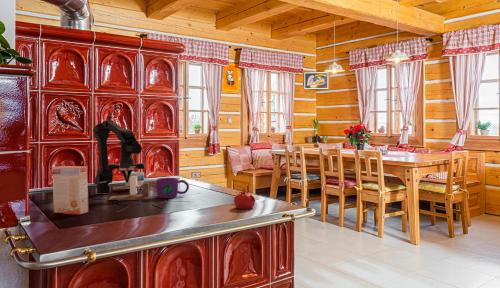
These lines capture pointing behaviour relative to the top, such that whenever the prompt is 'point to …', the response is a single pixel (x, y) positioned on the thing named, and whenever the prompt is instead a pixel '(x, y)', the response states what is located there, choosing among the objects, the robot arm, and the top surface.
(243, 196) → the pomegranate
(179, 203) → the top surface
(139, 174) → the light bulb box
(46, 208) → the top surface
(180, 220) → the top surface
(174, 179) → the mug
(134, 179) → the tan rectangular block
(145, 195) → the rod stand
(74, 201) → the cracker box
